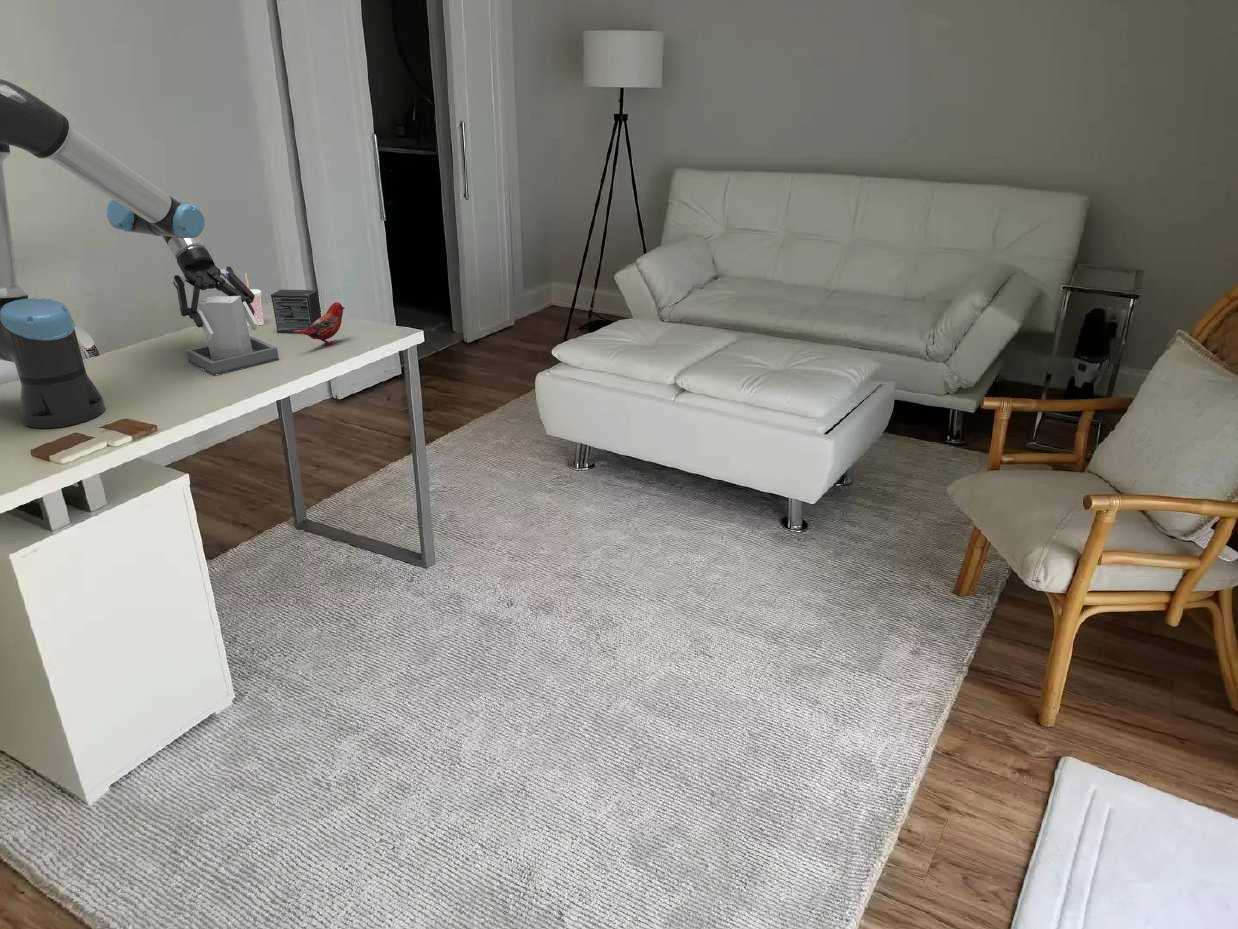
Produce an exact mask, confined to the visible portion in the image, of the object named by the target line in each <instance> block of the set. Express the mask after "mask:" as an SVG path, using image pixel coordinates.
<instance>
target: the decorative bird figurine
mask: <svg viewBox="0 0 1238 929" xmlns="http://www.w3.org/2000/svg"><path fill="white" fill-rule="evenodd" d="M344 310H345V307H344V306H343V305H342V303H340V302H338V301H336V302H334V303H333V304H331V305H330V306H329V307H328V309H327V311H326V313H324V314H323V315H321V318H319V319H318V320H316V321H315V322H314V323H312V324H311V325H310V326H309V327H308V328H307V329H305V330H298V331H292V333H291V334H300V335H306V336H308V337H310V338H311V339H313V340H320V341H322V342H323V343H322V344H321V346H322V347H325V346H327V345H331V344H333V343H335V342H336V341H338V340H337V339H334V340H330V341H328V340H329V339H331V338H332V337H334V336H335V335H336V334H337V333H338V332H339V330H340V327H341V325H342V319H343V315H344Z"/></svg>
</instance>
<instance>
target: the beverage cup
mask: <svg viewBox="0 0 1238 929" xmlns="http://www.w3.org/2000/svg"><path fill="white" fill-rule="evenodd" d="M244 277H245V282H246V286H247V287H248V289H249V290H250V291H251V292H252V293H253V294H254V295H255V297H254V300H253V302H252V303H250V304H251V306H252V307H253V309H254V311H255V313H254V318H255V319H256V321H257V323H258V325H261V326H263V325H264V324H265V322H264V314H263V306H262V305H263V304H262V290H261V289H258V288H257V289H256V288H255V289H254V288H253V289H251V288H250V286H249V285H250V284H249V279H248V274H247V272H246V273H244ZM246 322H247V325H248V326H250V325H249V323H248V321H247V319H246ZM258 325H257V327H259V326H258ZM248 326H247V327H248Z"/></svg>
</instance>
